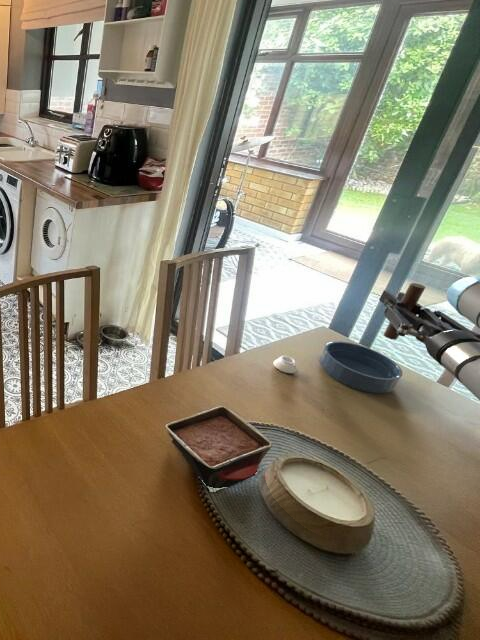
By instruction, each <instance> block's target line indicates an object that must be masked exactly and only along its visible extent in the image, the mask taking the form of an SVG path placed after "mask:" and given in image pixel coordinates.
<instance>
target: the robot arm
mask: <svg viewBox="0 0 480 640" xmlns="http://www.w3.org/2000/svg"><path fill="white" fill-rule="evenodd" d="M404 295H405V292H400V291H399V292H398V294H397V296H395V295H394V294H392V293H391V291H389V290H383V291H382V293H381V295H380V296H379V299H378V301H379V302H381V303H382V304H383V306H384V307H385V309H384V310H383V313H382V314H383V316H384V317H385V318H386V319H387V321H388V322H389V323H391V324H392V325H393V326H394V327H395V329H396V330H397V334H398V335H399V336H398V337H405V336H411V337H415V339H416V340H417V341H419V342H421V343H422V344H424V347H425V348H426V352H427V354H428V355H429V356H430V357H431V358H432V359H433V360H434V361H435V362H437V363H438V364H439V365H440V367H441V366H442V367H443V368H444V369H445V370H446V371H447V372H448V373H449V374H451V375H452V376H453V377H454V378H455V379H456V380H457V381H458V382H459V383H460V384H461V385H462V386H463V387H464V388H466V390H468V391H469V392H470V393H471V394H472V395H473V396H474V397H475V398H476V399H477V400H478V401H480V333H478V332H475V331H473V330H471V329H469V328H467V327H466V326H464V325H463V324H461V323H460V322H458V321H456V320H455V319H453V318H452V317H450V316H449V315H447V314H446V313H444V312H443V311H440V310H436V309H435V310H434V311H432V310H431V309H429V308H428V307H424V306H423V305H421V304H420V303H418V302H417V304H416V306H415V307H414V309H413V311H412V312H410V311H409V310H407V309H406V308H405V307H404V305H405V304H404V303H403V302H401V300H402V298H403V297H404ZM446 299H447V302H448V303H449V304H450V306H451V307H452V308H453V309H454V310H455V311H456V312H457V314H459V315H460V316H462V317H464V318H465V319H467V320H468V321H470V322H471V323H472V324H473V325H475V326H476V327H477V328H478V329H480V276H469V277H464V278H461V279H459V280H457V281H455V282H453V283H452V284H451V285H450V286H449V288H448V289H447V292H446Z"/></svg>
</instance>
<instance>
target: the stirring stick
mask: <svg viewBox="0 0 480 640" xmlns="http://www.w3.org/2000/svg"><path fill="white" fill-rule="evenodd" d="M425 290H426V286H425V285H423V284H420V283H418V282H417V283H416V282H410V284H409V285H408V286H407V289H406V291H405V292H404V294H405V295H404V297H403V298H402V300H401V302H403V303H404V304H405V305H404V307H405V308H406V309H407V310H409V311H410V312H412V311H413V309H414V307H415V306H416V304H417V303H418V302H419V300H420V298H421V296H422V294H423V293H424V291H425ZM383 336H384V337H385V338H387V339H390V340H394V341H395V340H398V338H399V337H400V336H399V335H398V334H397V330H396V329H395V327H394V326H393V325H392V324H391V323H390V322H389V323H388V325H387V327H386V328H385V330H384V333H383Z"/></svg>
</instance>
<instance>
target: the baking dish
mask: <svg viewBox="0 0 480 640" xmlns="http://www.w3.org/2000/svg"><path fill="white" fill-rule="evenodd" d="M164 426H165V430H166V431H167V434H168V435H169V437H170V438H171V439H172V440H171V441H170V442H171V443H172V444H173V445H174V446H175V448H176V449H177V450H178V451H179V452H180V453H181V455H182V456H183V458H184V460H186V462H187V464H188V465H189V466H190V469H192V471H193V473H194V474H195V476H197V475H198V476H199V477H200V478H201V479H202V480H203V482H204V483H205V484H206V486H209V487H213V488H222V487H229V488H231V487H230V486H232V487H234V486H236V485H238V484H240V483H239V482H241V483H243V482H245V481H247V480H249V479H251V478H253V477H255V476H256V475H255V473H256V472H258V469H259V466H260V464H261V462H262V460H263V459H264V457H265V456H266V455H267V454H268V452H269V451H271V450H270V449H271V448H272V447H273V443H272V441H271V440H270V439H268V437H267V436H266V435H265V434H263V432H261V431H260V430H259V429H257V428H256V427H254V425H252V424H251V423H250V422H249V421H248V420H246V419H245V418H243V417H242V416H241V415H239V414H238V413H236V412H235V411H234V410H232V409H230V408H229V407H227V406H224V405H217V406H216V407H211V408H208V409H206V410H203V411H200V412H198V413H195V414H193V415H190V416H186V417H184V418H181V419H178V420H175V421H172V422H171V421H170V422H169V423H167V424H165V425H164ZM252 476H253V477H252ZM250 477H251V478H250ZM248 478H249V479H248ZM246 479H247V480H246ZM244 480H245V481H244ZM242 481H243V482H242ZM237 483H238V484H237ZM235 484H236V485H235ZM233 485H234V486H233Z"/></svg>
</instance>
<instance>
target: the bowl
mask: <svg viewBox="0 0 480 640" xmlns="http://www.w3.org/2000/svg"><path fill="white" fill-rule="evenodd" d="M318 361H319V365H320V366H321V367H322V369H323V370H324V372H325V373H327V374H328V375H329V376H330V377H331V378H333V379H334V380H336V381H338V382H339V383H341V384H343V385H345V386H347V387H349V388H352V389H354V390H358V391H361V392H365V393H371V394H388V393H391V392H393V391H394V390H395V389H396V387H397V385H398V384H399V382H400V380H401V379H402V377H403V370H402V368H401V366H400V365H398V364H397V362H395V361H394V360H393V359H391V358H389V357H388V356H387V355H385V354H383V353H381V352H379V351H376V350H375V349H372V348H370V347H367V346H364V345H360V344H357V343H353V342H348V341H331V342H328V343H327V344H325V345H324V348H323V350H322V352H321V354H320V356H319V359H318Z"/></svg>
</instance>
